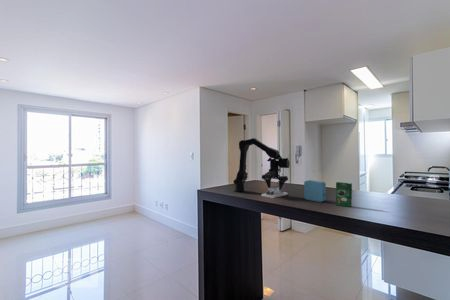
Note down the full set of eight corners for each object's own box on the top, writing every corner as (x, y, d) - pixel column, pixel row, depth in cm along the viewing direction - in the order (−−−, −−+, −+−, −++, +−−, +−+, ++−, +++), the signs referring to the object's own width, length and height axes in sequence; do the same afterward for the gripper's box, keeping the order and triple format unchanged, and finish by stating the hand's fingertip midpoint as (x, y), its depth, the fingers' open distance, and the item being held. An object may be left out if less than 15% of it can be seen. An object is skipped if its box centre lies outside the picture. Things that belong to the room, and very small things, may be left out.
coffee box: (352, 206, 125) (352, 182, 125) (351, 207, 122) (351, 183, 122) (336, 204, 129) (336, 181, 129) (335, 205, 127) (335, 182, 127)
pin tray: (261, 195, 156) (261, 191, 156) (276, 192, 167) (275, 188, 167) (273, 198, 148) (273, 193, 148) (287, 194, 159) (287, 189, 159)
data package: (326, 201, 138) (325, 181, 138) (322, 202, 135) (322, 182, 135) (307, 198, 147) (307, 179, 147) (304, 199, 144) (303, 180, 144)
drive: (267, 194, 155) (267, 187, 155) (274, 192, 163) (274, 185, 163) (274, 195, 152) (274, 188, 152) (281, 192, 160) (280, 186, 160)
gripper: (256, 167, 159) (256, 189, 159) (278, 169, 145) (278, 193, 145) (266, 166, 167) (266, 187, 167) (288, 168, 153) (288, 190, 153)
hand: (274, 189), depth 158 cm, fingers open, 9 cm apart
